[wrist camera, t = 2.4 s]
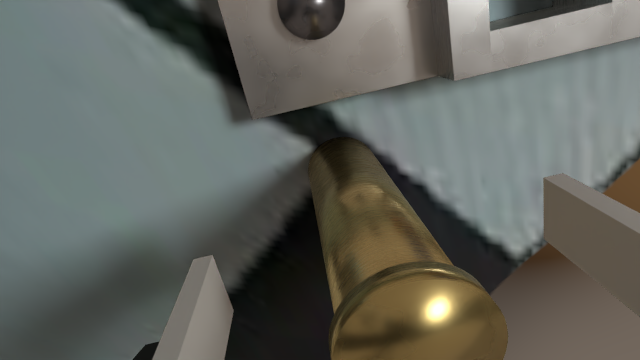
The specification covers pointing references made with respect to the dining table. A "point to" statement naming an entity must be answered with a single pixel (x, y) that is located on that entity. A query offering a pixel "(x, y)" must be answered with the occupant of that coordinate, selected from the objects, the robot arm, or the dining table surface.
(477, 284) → the brass pin
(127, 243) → the dining table surface
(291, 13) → the slotted metal plate
